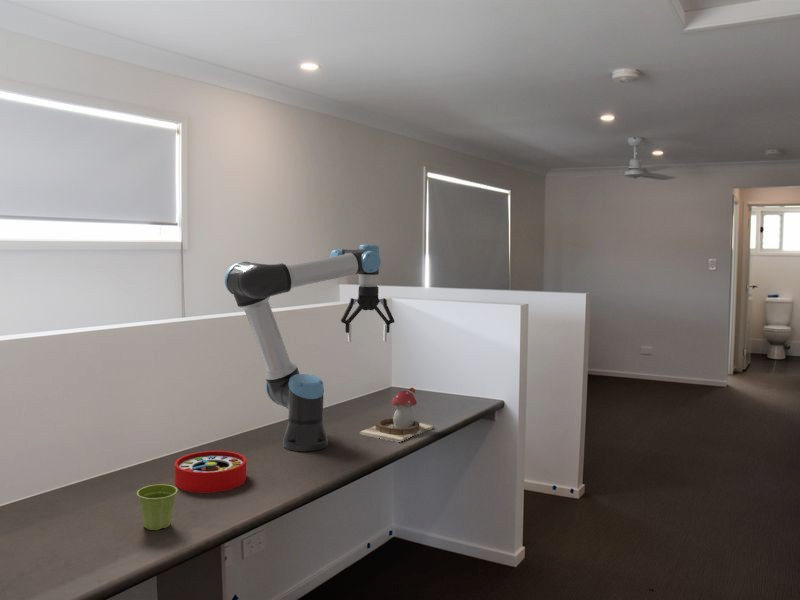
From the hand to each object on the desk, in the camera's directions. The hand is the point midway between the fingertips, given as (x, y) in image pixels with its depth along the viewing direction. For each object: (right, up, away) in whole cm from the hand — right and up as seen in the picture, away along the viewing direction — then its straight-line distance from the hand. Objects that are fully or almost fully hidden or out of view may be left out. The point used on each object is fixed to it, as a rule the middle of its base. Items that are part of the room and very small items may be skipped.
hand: (367, 341), depth 266 cm
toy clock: (-42, -37, -63) cm, 84 cm away
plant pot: (-47, -39, -95) cm, 113 cm away
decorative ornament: (+14, -32, -5) cm, 35 cm away
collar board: (+11, -33, -7) cm, 35 cm away
